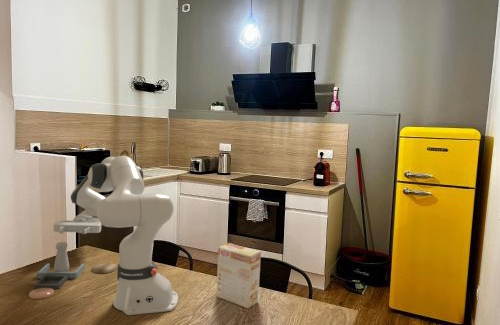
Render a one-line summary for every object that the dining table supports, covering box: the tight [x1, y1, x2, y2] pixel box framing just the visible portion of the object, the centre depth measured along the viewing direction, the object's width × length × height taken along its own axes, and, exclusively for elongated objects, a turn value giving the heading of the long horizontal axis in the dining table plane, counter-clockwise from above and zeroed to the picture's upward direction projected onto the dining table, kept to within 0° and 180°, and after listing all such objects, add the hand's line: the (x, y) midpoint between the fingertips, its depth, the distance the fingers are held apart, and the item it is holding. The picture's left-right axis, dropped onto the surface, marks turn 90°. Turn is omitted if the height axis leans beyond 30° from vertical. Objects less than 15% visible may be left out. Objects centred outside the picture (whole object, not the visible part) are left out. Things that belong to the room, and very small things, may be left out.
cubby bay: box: [36, 263, 85, 279], centre depth 152 cm, size 10×15×2 cm, turn 97°
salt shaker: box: [53, 241, 70, 272], centre depth 152 cm, size 6×6×13 cm
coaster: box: [28, 288, 55, 300], centre depth 134 cm, size 8×8×1 cm
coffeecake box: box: [215, 242, 262, 309], centre depth 138 cm, size 15×7×20 cm, turn 56°
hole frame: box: [33, 275, 69, 290], centre depth 143 cm, size 9×9×2 cm
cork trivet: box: [92, 262, 118, 275], centre depth 159 cm, size 10×10×1 cm
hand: (72, 231), depth 163 cm, fingers open, 8 cm apart
